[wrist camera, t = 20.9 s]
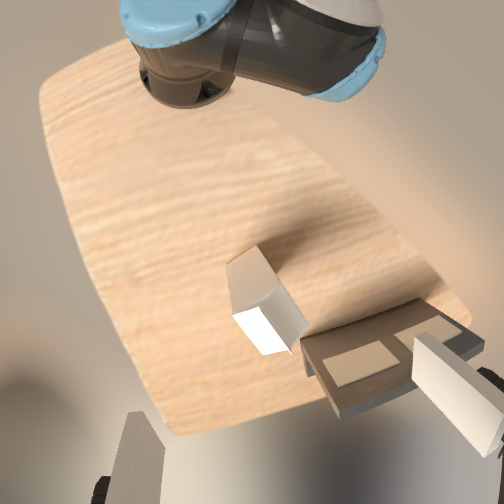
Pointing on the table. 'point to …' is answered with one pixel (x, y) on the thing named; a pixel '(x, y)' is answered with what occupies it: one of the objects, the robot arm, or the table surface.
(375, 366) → the label panel
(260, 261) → the milk
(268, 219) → the table surface
